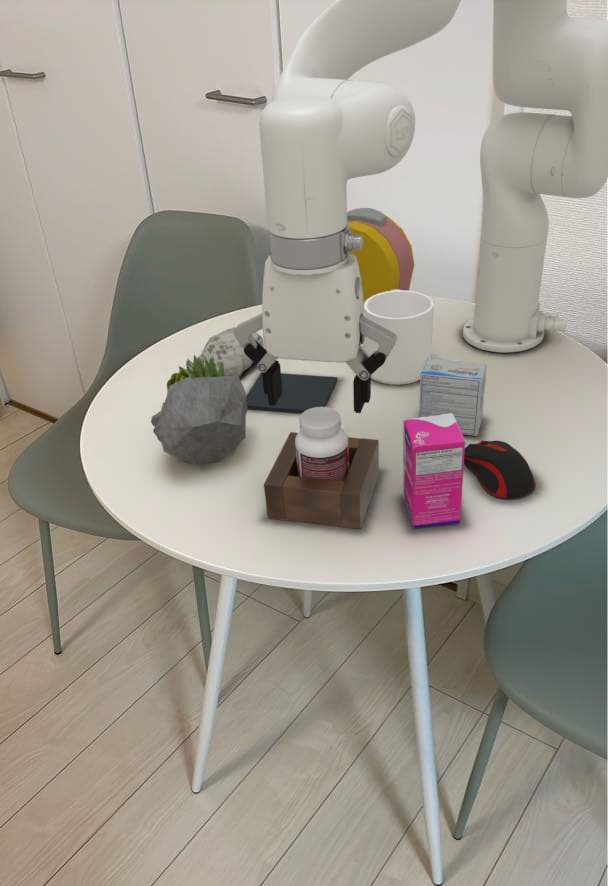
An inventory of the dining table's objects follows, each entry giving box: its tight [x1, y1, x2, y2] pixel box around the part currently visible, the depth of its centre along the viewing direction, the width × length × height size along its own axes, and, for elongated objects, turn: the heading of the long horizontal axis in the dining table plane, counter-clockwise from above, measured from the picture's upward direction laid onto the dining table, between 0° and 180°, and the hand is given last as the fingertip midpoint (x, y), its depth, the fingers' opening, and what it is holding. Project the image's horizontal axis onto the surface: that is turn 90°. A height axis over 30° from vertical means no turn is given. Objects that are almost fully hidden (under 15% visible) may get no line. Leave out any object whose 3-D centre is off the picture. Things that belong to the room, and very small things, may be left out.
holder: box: [263, 431, 380, 530], centre depth 90 cm, size 11×11×5 cm
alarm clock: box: [347, 207, 415, 303], centre depth 121 cm, size 15×8×18 cm, turn 59°
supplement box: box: [402, 413, 466, 529], centre depth 84 cm, size 6×6×12 cm
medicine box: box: [418, 358, 488, 437], centre depth 99 cm, size 8×4×9 cm, turn 71°
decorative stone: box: [198, 327, 265, 379], centre depth 117 cm, size 12×11×5 cm
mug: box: [363, 289, 435, 386], centre depth 112 cm, size 13×10×10 cm
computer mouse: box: [464, 439, 537, 500], centre depth 91 cm, size 6×11×4 cm, turn 20°
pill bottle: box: [295, 406, 349, 482], centre depth 88 cm, size 6×6×11 cm
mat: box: [246, 372, 338, 414], centre depth 111 cm, size 12×10×1 cm
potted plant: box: [150, 354, 248, 466], centre depth 99 cm, size 12×13×15 cm
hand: (317, 403), depth 83 cm, fingers open, 9 cm apart
